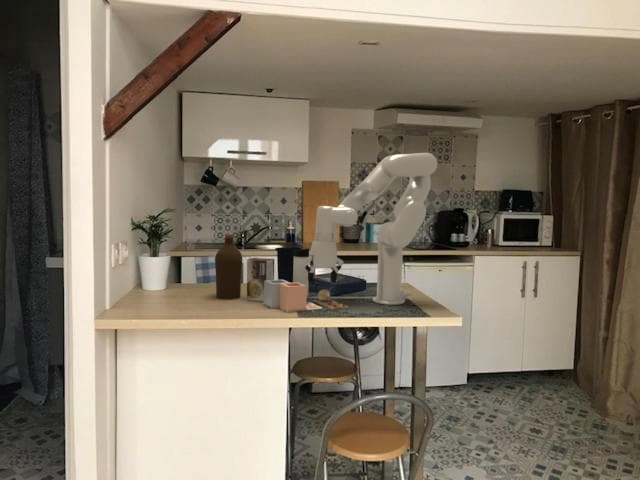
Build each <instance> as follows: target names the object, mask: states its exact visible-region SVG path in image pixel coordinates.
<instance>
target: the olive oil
mask: <svg viewBox="0 0 640 480" xmlns="http://www.w3.org/2000/svg"><path fill="white" fill-rule="evenodd" d="M214 262H215V264H214V266H215V295H216V296H215V297H216V298H217V299H221V300H235V299H237V300H238V299H239V298H241V289H242V287H241V286H242V271H243V270H242V269H243V255H242V253H241V251H240V249H238V248H237V247H236V245H235V244H234V234H233V233H226V234H225V235H224V244H223V245H222V246H221V247H220V248H219V250H217V252H216V254H215V257H214Z"/></svg>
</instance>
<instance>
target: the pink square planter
mask: <svg viewBox="0 0 640 480" xmlns="http://www.w3.org/2000/svg"><path fill="white" fill-rule="evenodd" d="M307 299H308V298H307V286H306V285H304V284H301V283H298V282H296V283H293V282H290V283H280V290H279V308H278V309H280V310H282V311H284V312H286V313H294V312H305V311H307V310H306V301H307Z"/></svg>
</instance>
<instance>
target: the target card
mask: <svg viewBox="0 0 640 480" xmlns="http://www.w3.org/2000/svg"><path fill="white" fill-rule="evenodd" d="M322 309H323V306H321V305H320V306H319V305H317V304H316V303H313V302H311V301H309V302H308V301H307V300H306V311H310V310H311V311H312V310H313V311H314V310H322Z"/></svg>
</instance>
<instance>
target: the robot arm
mask: <svg viewBox="0 0 640 480" xmlns="http://www.w3.org/2000/svg"><path fill="white" fill-rule="evenodd" d="M437 168H438V160H437V158H436V156H435V155H433V153H429V152H420V153H419V152H417V153H400V154H398V153H397V154H391V155H388V156H386V157H384V158H383V159H382V160H381V161H380V162H379V163H378V164H377V165H376V166H375V167H374V168H373V170H372V171H371V172H370V173H369V174H368V175H367V176H366V177H365V178H364V179H363V180H362V181H361V182H360V183H359V184H358V185H357V186H356V188H354V189H353V190H352V191H351V192H350V193H349V194H347V196H346V197H345V198H344V199H343V200H342V201H341V202H340V203H339V204H338V206H337V207H335V206H332V205H331V206H329V205H319V206H318V207H317V209H316V218H315V220H316V221H315V222H316V223H315V234H314V235H315V236H314V240H313V241H312V243H311V247H310V250H309V258H307V259H305V260H303V261H302V262H303V265H304V267H305V269H306V270H307V272H308V282H309V283H310V284H314V282H315V281H314V280H315V279H314V278H315V273H314V271H315V270H316V269H331V271H330V280H329V281H330V283H333V284H336V282H337V280H338V279H337V277H338V273H339V272H340V270H341V269H342V266H343V264H344V260H342V259H341V258H340V257H338V249H337V242H336V240H338V238H339V237H338V235H336V228H337V227H336V226H341V227H345V228H346V227H352V226H354V225H355V224H356V223H357V221H358V219H359V215H358V213H359V211H360V210H361V209H362V208H363V207H364V206H366V205H368V204H369V203H371V202H373V201H375V200H376V199H377V198H378V197H380V196H381V195H382V193H384V191H385V190H386V189H387V188H388V187H389V186H390V184H391V183H392V182H394V180H395V179H396V178H406V177H407V178H409V180H408V181H409V182H408V185H407V187H406V189H405V190H404V192H403V194H402V195H401V197H400V198H399V200H398V202H397V203H396V205H395V207H394V209H393V215H394V216H393V217H395V220H394V221H388V222H385V223H383V224H381V226H380V227H379V228H378V231H377V234H376V235H377V237H376V238H377V249H378V250H377V251H378V253H377V254H378V255H377V276H376V277H377V278H376V280H377V281H376V296H374V297H372V302H373V303H374V304H375V303H376V304H380V305H387V306H389V305H390V306H391V305H392V306H393V305H398V306H399V305H404V303H405V302H406V300H405V299H404V297H410V296H411V295H412V292H411V291H404V290H402V277H403V260H404V259H403V256H404V255H403V248H406V246H408V245H409V244H410V243H411V242H412V241H413V239H414V237H415V236H416V234H417V232H418V230H419V229H420V227H421V225H422V224H423V222H424V220H425V219H426V215H427V208H426V205H425V204H424V203H425V201H426V199H427V197H428V195H429V193H430V191H431V186H432V184H431V175H432V174H434V172H435V171H436V170H437ZM308 262H309V266H308Z"/></svg>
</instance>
